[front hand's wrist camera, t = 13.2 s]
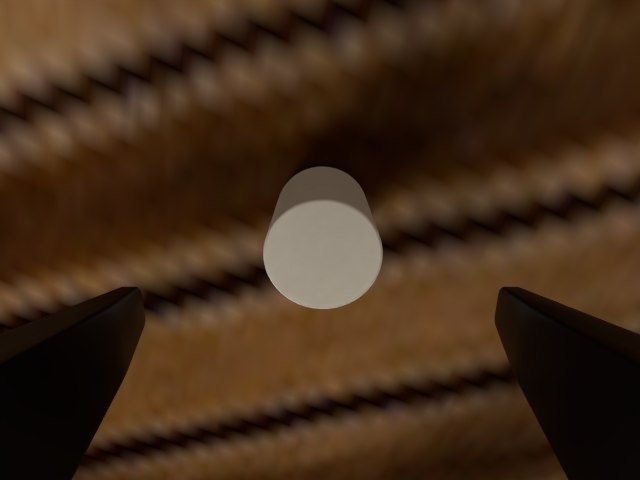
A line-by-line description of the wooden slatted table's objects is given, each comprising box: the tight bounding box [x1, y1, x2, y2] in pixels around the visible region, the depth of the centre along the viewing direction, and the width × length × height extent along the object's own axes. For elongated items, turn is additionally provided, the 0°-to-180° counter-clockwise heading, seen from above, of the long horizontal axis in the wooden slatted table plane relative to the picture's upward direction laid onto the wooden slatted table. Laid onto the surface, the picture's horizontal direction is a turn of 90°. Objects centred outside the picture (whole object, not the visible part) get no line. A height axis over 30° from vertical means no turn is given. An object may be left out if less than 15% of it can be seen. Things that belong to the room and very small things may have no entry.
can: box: [263, 167, 383, 309], centre depth 16 cm, size 4×4×5 cm
